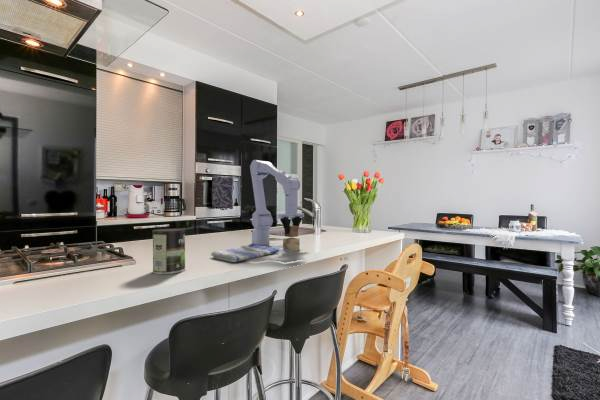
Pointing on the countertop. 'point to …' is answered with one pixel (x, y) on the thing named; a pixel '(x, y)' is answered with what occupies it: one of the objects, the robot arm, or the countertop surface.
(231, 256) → the dish towel
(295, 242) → the oak base block
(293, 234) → the walnut block
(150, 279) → the countertop surface
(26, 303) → the countertop surface
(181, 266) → the coffee can
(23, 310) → the countertop surface
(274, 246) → the board
